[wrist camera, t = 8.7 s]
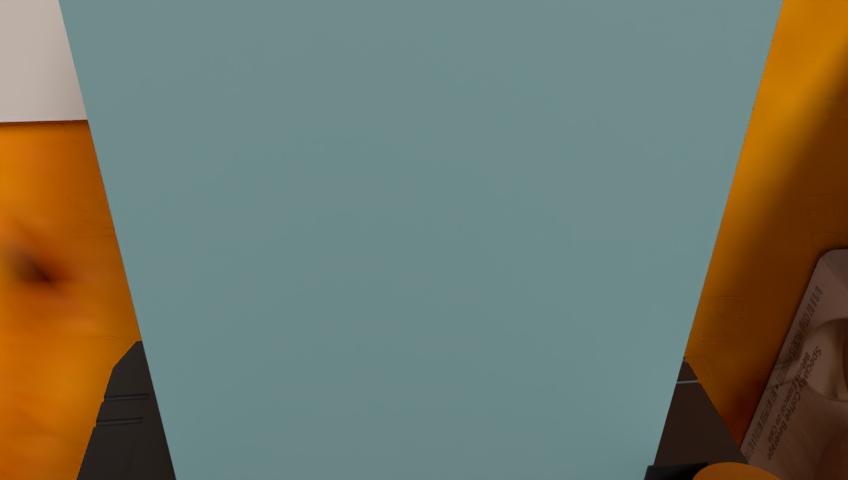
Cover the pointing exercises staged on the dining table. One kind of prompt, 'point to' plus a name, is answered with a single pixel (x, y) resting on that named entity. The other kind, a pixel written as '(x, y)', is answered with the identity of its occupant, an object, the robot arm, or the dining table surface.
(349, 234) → the teal blank
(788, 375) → the coffee box
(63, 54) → the white piece
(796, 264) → the dining table surface
